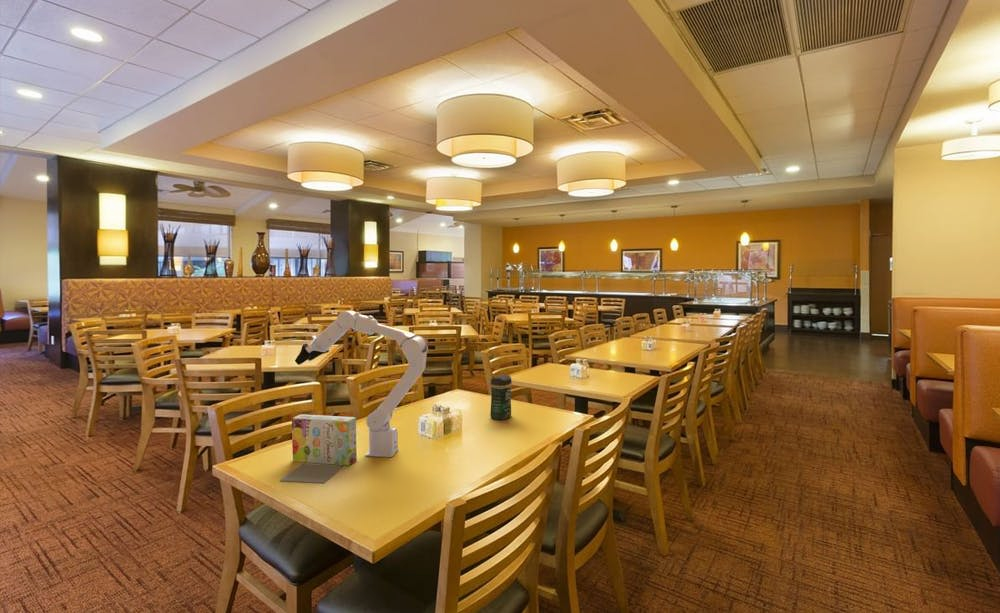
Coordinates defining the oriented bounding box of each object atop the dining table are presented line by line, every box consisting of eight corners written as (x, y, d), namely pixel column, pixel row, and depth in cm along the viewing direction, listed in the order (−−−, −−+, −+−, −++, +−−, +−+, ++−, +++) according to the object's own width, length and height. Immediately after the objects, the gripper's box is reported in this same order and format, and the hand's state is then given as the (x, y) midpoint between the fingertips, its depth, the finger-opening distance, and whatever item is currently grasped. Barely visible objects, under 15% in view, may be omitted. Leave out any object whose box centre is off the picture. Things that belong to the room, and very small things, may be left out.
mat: (342, 466, 159) (342, 465, 159) (324, 483, 146) (323, 482, 146) (301, 464, 160) (301, 463, 160) (279, 481, 147) (279, 480, 147)
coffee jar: (503, 421, 207) (503, 378, 206) (487, 418, 211) (487, 376, 210) (514, 415, 215) (514, 374, 214) (499, 413, 219) (499, 372, 218)
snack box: (357, 460, 164) (356, 416, 163) (349, 466, 159) (348, 421, 158) (301, 455, 168) (300, 413, 167) (291, 461, 163) (290, 417, 162)
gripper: (331, 325, 177) (305, 349, 179) (312, 329, 163) (284, 355, 164) (344, 339, 177) (318, 363, 179) (326, 345, 163) (297, 371, 164)
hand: (302, 360), depth 171 cm, fingers open, 7 cm apart
